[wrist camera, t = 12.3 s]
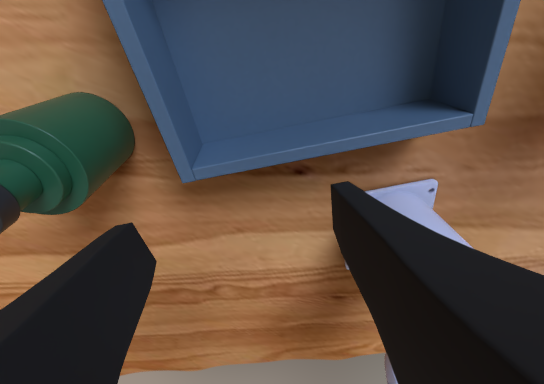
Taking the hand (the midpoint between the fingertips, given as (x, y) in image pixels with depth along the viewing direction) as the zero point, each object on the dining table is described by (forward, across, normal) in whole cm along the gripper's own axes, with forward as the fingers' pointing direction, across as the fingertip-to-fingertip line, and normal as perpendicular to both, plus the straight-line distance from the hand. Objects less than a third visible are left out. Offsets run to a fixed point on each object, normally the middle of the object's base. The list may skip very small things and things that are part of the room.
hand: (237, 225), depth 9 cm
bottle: (+10, +10, -2) cm, 15 cm away
